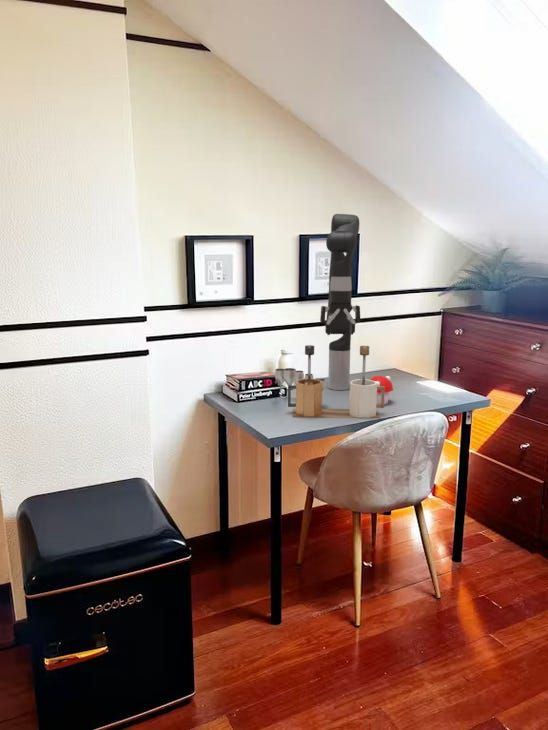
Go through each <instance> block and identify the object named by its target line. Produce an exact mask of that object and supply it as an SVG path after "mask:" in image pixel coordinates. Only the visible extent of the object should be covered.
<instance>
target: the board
mask: <svg viewBox="0 0 548 730" xmlns="http://www.w3.org/2000/svg"><path fill="white" fill-rule="evenodd" d="M292 418H296V419H298V418H302V419H303V418H304V419H306V418H307V419H309V418H311V419H318V418H319V419H320V418H321V419H360V418H359V417H355V416H351V415H350V414H349V409H347V408H345V409H344V408H322V415H319V416H316V417H302V416H299V415H296V408H292ZM369 419H381V416H380V413H379V412H378V409H376V416H373V417H370V418H369Z"/></svg>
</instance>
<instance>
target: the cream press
mask: <svg viewBox="0 0 548 730" xmlns="http://www.w3.org/2000/svg"><path fill="white" fill-rule="evenodd" d="M377 390H381V404H376V402H377ZM384 394H385V387H384V386H377V383H376V381H372V380H370V379H367V378H365V385H362V378H361V379H352V380H349V399H348V400H349V401H348V402H349V405H348V408H349V414H350V415H351V416H355V417H359V418H358V419H371V418H370V417H373V416H376V410H377V409H378V408H379V409H385V404H384Z"/></svg>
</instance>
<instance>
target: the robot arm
mask: <svg viewBox="0 0 548 730" xmlns="http://www.w3.org/2000/svg"><path fill="white" fill-rule="evenodd" d="M359 232H360V218H359V217H358V216H357V215H355V214H349V213H348V214H347V213H334V214H333V216H332V218H331V224H330V233H329V234H328V235H327V237H326V240H325V241H326V244H325V245H326V248H327V250H328V251H329V252H330V263H329V274H328V275H329V276H328V277H329V278H328V301H327V306H324V305H321V307H320V318H319V319H320V323H323V324H324V325H325V328H324V329H325V330H324V331H325V334H327V336H330V335H342V336H341V337H339V338H337V339H335V340H333V341H330V342H329V345H328V377H327V378H328V381H327V382H328V384H327V388H328V389H329V390H332V391H333V390H334V391H346V390H348V389H349V390H350V373H351V371H350V370H351V369H350V368H351V340H352V335H354V333H355V332H356V324H358V323H360V322H361V307H360V305H358V304H357V305H352V289H353V288H352V287H353V286H352V278H353V277H352V276H353V275H352V274H353V268H352V262H353V258H354V253H355V250H356V247H357V243H358V239H357V236H358V234H359ZM352 311H353V312H354V314H355V319H354V318H353V316H352V314H351V312H352Z"/></svg>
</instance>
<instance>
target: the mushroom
mask: <svg viewBox="0 0 548 730" xmlns="http://www.w3.org/2000/svg"><path fill="white" fill-rule="evenodd" d="M391 379H392V378H391V376H389V375H386V376H382V375H375V376H372V377H371V378H370V379H369V380H372V381H376V383H377V386H384V387H385V394H384V405H387V404H389V403H388V402H389V398H390V396H389V395H390V394H389V393H390V392H392V391H394V388H393V387H394V386H393V383H392V381H391ZM376 404H381V390H377V402H376Z"/></svg>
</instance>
